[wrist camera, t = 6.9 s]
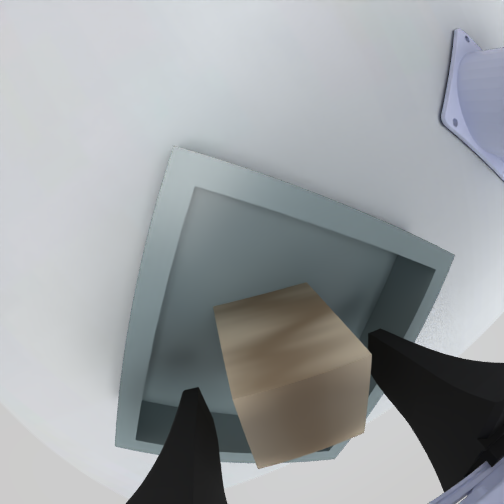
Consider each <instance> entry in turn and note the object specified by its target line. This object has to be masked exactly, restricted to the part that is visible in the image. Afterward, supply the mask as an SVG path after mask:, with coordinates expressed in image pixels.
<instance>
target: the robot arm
mask: <svg viewBox="0 0 504 504" xmlns="http://www.w3.org/2000/svg"><path fill="white" fill-rule="evenodd" d="M441 119H442V122H443V124H444V125H445V126H446V127H447V128H448V129H449V130H451V131H452V132H453V133H454V134H455V135H457V136H458V137H459V138H460V139H461V140H462V141H463V142H465V143H466V144H467V145H468V146H469V147H470V148H471V149H472V150H473V151H474V152H475V153H476V154H478V155H479V156H480V157H481V158H482V159H483V160H484V161H485V162H486V163H487V164H488V165H489V166H490V167H491V168H492V169H493V170H494V171H495V172H496V173H497V174H498V175H499V176H500V177H501V179H502V180H503V181H504V47H502V48H496V49H489V50H482V49H481V48H480V47H479V46H478V45H477V44H476V43H475V42H474V41H473V40H472V39H471V38H470V37H469V36H468V35H467V34H466V33H465V32H464V31H463V30H462V29H461V28H458V29H455V32H454V42H453V50H452V58H451V65H450V71H449V78H448V83H447V89H446V94H445V99H444V104H443V109H442V114H441ZM368 350H369V352H370V353H371V354H372V361H371V375H372V377H373V379H374V380H375V382H376V383H377V385H378V386H379V388H380V389H381V390H382V391H383V393H384V394H385V395H386V396H387V397H388V399H389V400H390V401H391V402H392V403H393V405H394V406H395V407H396V408H397V410H398V411H399V412H400V413H401V414H402V415H403V417H404V418H405V419H406V421H407V422H408V423H409V425H410V426H411V428H412V430H413V431H414V433H415V434H416V436H417V437H418V439H419V441H420V443H421V444H422V446H423V448H424V450H425V452H426V453H427V455H428V457H429V459H430V461H431V463H432V465H433V467H434V469H435V471H436V474H437V476H438V478H439V480H440V483H441V485H442V488H443V491H444V493H443V494H442V495H440V496H439V497H437V498H436V499H434V500H433V501H431V502H429V503H428V504H456V503H457V502H458V501H460V500H461V499H462V498H464V497H465V496H466V495H467V497H466V498H465V499H463V500H462V501H461V502H460V503H459V504H504V363H491V362H481V361H473V360H466V359H462V358H458V357H454V356H450V355H446V354H443V353H440V352H437V351H434V350H431V349H428V348H426V347H423V346H420V345H418V344H415V343H413V342H411V341H408V340H406V339H404V338H401V337H399V336H397V335H395V334H392V333H390V332H388V331H385V330H383V329H378V330H375V331H373V332H370V333H368ZM126 504H227V501H226V497H225V493H224V487H223V480H222V472H221V463H220V453H219V444H218V437H217V433H216V428H215V424H214V419H213V417H212V415H211V413H210V411H209V408H208V406H207V404H206V402H205V400H204V398H203V395H202V393H201V391H200V389H199V387H196V388H192V389H187V390H184V391H183V392H182V395H181V399H180V403H179V406H178V409H177V412H176V415H175V418H174V421H173V424H172V426H171V429H170V432H169V434H168V437H167V439H166V441H165V443H164V446H163V448H162V450H161V452H160V454H159V456H158V458H157V460H156V462H155V464H154V465H153V467H152V469H151V470H150V472H149V473H148V475H147V477H146V478H145V480H144V481H143V483H142V484H141V485H140V487H139V488H138V489H137V491H136V492H135V493H134V494H133V496H132V497H131V498H130V499H129V500H128V502H127V503H126Z"/></svg>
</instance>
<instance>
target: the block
mask: <svg viewBox="0 0 504 504" xmlns="http://www.w3.org/2000/svg"><path fill="white" fill-rule="evenodd" d="M213 309H214V314H215V320H216V325H217V330H218V335H219V340H220V344H221V349H222V354H223V359H224V364H225V368H226V373H227V377H228V382H229V386H230V391H231V395H232V400H233V402H234V405H235V408H236V411H237V414H238V417H239V419H240V422H241V425H242V428H243V431H244V433H245V436H246V439H247V441H248V444H249V447H250V449H251V452H252V455H253V457H254V460H255V462H256V465H257V468H258V469H260V468H264V467H268V466H272V465H275V464H279V463H282V462H286V461H289V460H292V459H296V458H299V457H302V456H305V455H308V454H311V453H314V452H317V451H320V450H322V449H325V448H328V447H330V446H333V445H336V444H338V443H341V442H343V441H346V440H348V439H351V438H353V437H355V436H358V435H360V434H362V433H364V429H365V422H366V414H367V406H368V396H369V386H370V375H371V361H372V354H371V353H370V352H369V350H368V349H367V348H366V347H365V346H364V345H363V344H362V343H361V342H360V340H359V339H358V338H357V337H356V336H355V335H354V334H353V333H352V332H351V330H350V329H349V328H348V327H347V326H346V325H345V324H344V323H343V322H342V320H341V319H340V318H339V317H338V316H337V315H336V314H335V313H334V312H333V311H332V309H331V308H330V307H329V306H328V305H327V304H326V303H325V302H324V301H323V300H322V299H321V297H320V296H319V295H318V294H317V293H316V292H315V291H314V290H313V289H312V288H311V287H310V285H309V284H308V283H307V282H305V283H302V284H298V285H295V286H291V287H287V288H284V289H280V290H276V291H272V292H269V293H265V294H261V295H257V296H253V297H249V298H245V299H242V300H238V301H234V302H230V303H226V304H222V305H217V306H213Z"/></svg>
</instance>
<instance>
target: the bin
mask: <svg viewBox="0 0 504 504" xmlns="http://www.w3.org/2000/svg"><path fill="white" fill-rule="evenodd" d="M454 256H455V255H454V254H452V253H450V252H448V251H446V250H444V249H442V248H440V247H438V246H436V245H434V244H432V243H430V242H428V241H426V240H423V239H421V238H419V237H417V236H415V235H413V234H411V233H409V232H406V231H404V230H402V229H400V228H398V227H395V226H393V225H391V224H389V223H386V222H384V221H382V220H380V219H377V218H375V217H373V216H370V215H368V214H366V213H363V212H361V211H359V210H356V209H354V208H351V207H349V206H347V205H344V204H342V203H339V202H337V201H334V200H332V199H329V198H327V197H324V196H322V195H319V194H316V193H314V192H311V191H309V190H306V189H303V188H301V187H298V186H295V185H293V184H290V183H287V182H284V181H282V180H279V179H276V178H273V177H271V176H268V175H265V174H262V173H259V172H256V171H253V170H250V169H247V168H244V167H241V166H238V165H235V164H232V163H229V162H226V161H223V160H220V159H217V158H213V157H210V156H207V155H204V154H200V153H197V152H194V151H190V150H187V149H184V148H180V147H177V146H174V147H173V150H172V153H171V156H170V159H169V162H168V165H167V168H166V172H165V175H164V178H163V181H162V185H161V188H160V192H159V195H158V199H157V202H156V206H155V209H154V213H153V217H152V220H151V224H150V228H149V232H148V236H147V240H146V244H145V248H144V252H143V257H142V261H141V265H140V270H139V275H138V279H137V284H136V289H135V294H134V299H133V304H132V309H131V315H130V320H129V326H128V332H127V338H126V345H125V351H124V358H123V366H122V373H121V381H120V390H119V400H118V410H117V422H116V436H115V446H116V447H120V448H125V449H130V450H134V451H140V452H145V453H150V454H156V455H159V454H160V452H161V450H162V448H163V446H164V443H165V441H166V439H167V437H168V434H169V432H170V429H171V426H172V424H173V421H174V418H175V415H176V412H177V409H178V406H179V403H180V399H181V395H182V392H183V391H184V390H187V389H192V388H196V387H199V389H200V391H201V393H202V395H203V398H204V400H205V402H206V404H207V406H208V408H209V411H210V413H211V415H212V417H213V419H214V424H215V428H216V433H217V437H218V444H219V453H220V462H234V463H256V462H255V460H254V457H253V455H252V452H251V449H250V447H249V444H248V441H247V439H246V436H245V433H244V431H243V428H242V425H241V422H240V419H239V417H238V414H237V411H236V408H235V405H234V402H233V400H232V395H231V391H230V386H229V382H228V377H227V373H226V368H225V364H224V359H223V354H222V349H221V344H220V340H219V335H218V330H217V325H216V320H215V314H214V309H213V306H217V305H222V304H226V303H230V302H234V301H238V300H242V299H245V298H249V297H253V296H257V295H261V294H265V293H269V292H272V291H276V290H280V289H284V288H287V287H291V286H295V285H298V284H302V283H305V282H307V283H308V284H309V285H310V287H311V288H312V289H313V290H314V291H315V292H316V293H317V294H318V295H319V296H320V297H321V299H322V300H323V301H324V302H325V303H326V304H327V305H328V306H329V307H330V308H331V309H332V311H333V312H334V313H335V314H336V315H337V316H338V317H339V318H340V319H341V320H342V322H343V323H344V324H345V325H346V326H347V327H348V328H349V329H350V330H351V332H352V333H353V334H354V335H355V336H356V337H357V338H358V339H359V340H360V342H361V343H362V344H363V345H364V346H365V347H366V348H367V349H368V333H370V332H373V331H375V330H378V329H383V330H385V331H388V332H390V333H392V334H395V335H397V336H399V337H401V338H404V339H406V340H408V341H411V342H413V343H414V342H415V340H416V338H417V337H418V335H419V333H420V331H421V329H422V327H423V325H424V323H425V321H426V319H427V317H428V315H429V313H430V311H431V309H432V307H433V305H434V303H435V301H436V298H437V296H438V294H439V292H440V290H441V287H442V285H443V283H444V281H445V278H446V276H447V274H448V271H449V269H450V266H451V264H452V261H453V259H454ZM382 395H383V391H382V390H381V389H380V388H379V386H378V385H377V383H376V382H375V380H374V379H373V377H372V375H370V386H369V396H368V406H367V414H366V418H367V417H368V415H369V414H370V412H371V411H372V410H373V408H374V407H375V405H376V404H377V402H378V401H379V399H380V398H381V396H382ZM349 440H350V439H348V440H346V441H343V442H341V443H338V444H336V445H333V446H330V447H328V448H325V449H322V450H320V451H317V452H314V453H311V454H308V455H305V456H302V457H299V458H296V459H292V460H289V461H286V462H282V463H289V462H307V461H319V460H329V459H335V458H336V456H337V455H338V454H339V453H340V451H341V450H342V449H343V448H344V447H345V446H346V444H347V443H348V442H349Z"/></svg>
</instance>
